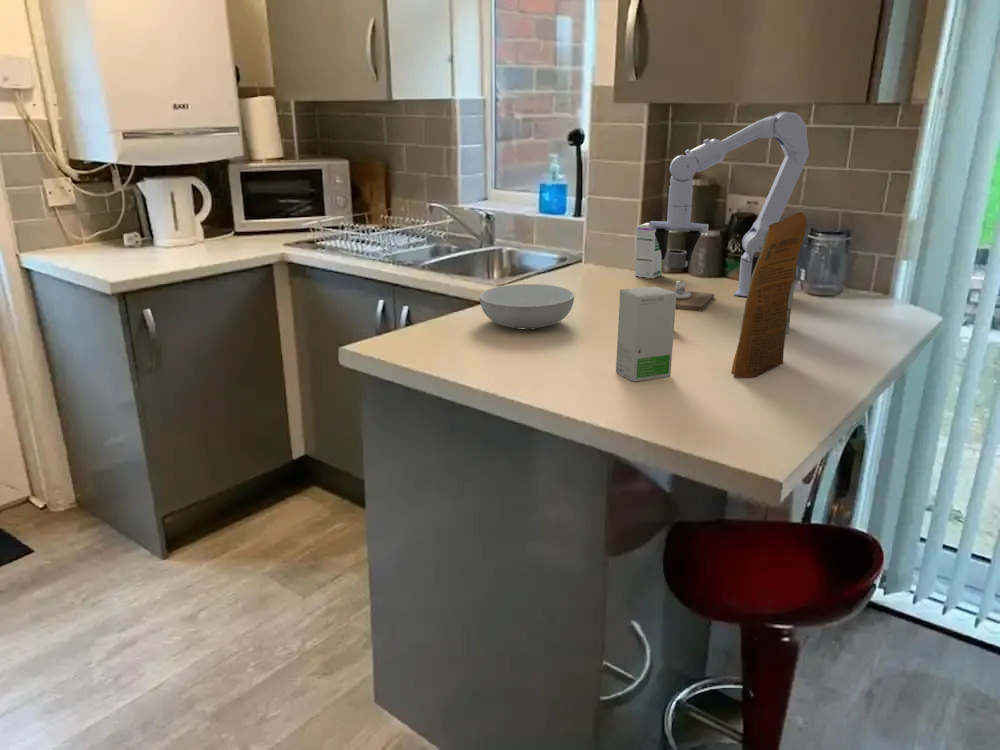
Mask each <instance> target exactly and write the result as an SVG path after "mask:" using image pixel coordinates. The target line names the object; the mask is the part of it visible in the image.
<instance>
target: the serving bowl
mask: <svg viewBox="0 0 1000 750" xmlns="http://www.w3.org/2000/svg"><path fill="white" fill-rule="evenodd" d="M478 298H479V304H480V307H481V309H482V312H483V313H484V315H485V316H487V318H488V319H489V320H490V321H492V322H494V323H496V324H498V325H501V326H502V327H503V326H504V327H508V328H509V327H510V328H512V327H513V328H512V329H516V328H525V329H524V330H533V329H532V328H537V329H541V328H544V327H548V326H552V325H554V324H557V323H559V322H561V321H562V320H564V319H565V318H566V317H567V316H568V314H570V312H571V310H572V308H573V305H574V301H575V294H574V292H573V291H571V290H570V289H567V288H566V287H562V286H556V285H550V284H539V283H529V284H528V283H521V284H520V283H519V284H508V285H501V286H495V287H492V288H488V289H486V290H485V291H482V292H481V293H480V294H479V297H478ZM540 327H541V328H540Z"/></svg>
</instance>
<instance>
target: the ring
mask: <svg viewBox="0 0 1000 750" xmlns="http://www.w3.org/2000/svg"><path fill="white" fill-rule="evenodd" d="M686 254H687V250H684V249H683V250H682V249H676V248H675V249H667V250H666V251H665V254H664V259H663V266H665V267H668V268H674V269H675V268H677V269H678V268H679V269H681V268H687V267H688V264H689V261H686Z"/></svg>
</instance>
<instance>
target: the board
mask: <svg viewBox="0 0 1000 750" xmlns="http://www.w3.org/2000/svg"><path fill="white" fill-rule="evenodd" d="M665 289H666V290H669V291H676V289H667V288H665ZM685 291H686V290H685ZM686 292H689V293H691V298H690V299H687V300H676V308H675V309H678V310H682V309H683V310H688V309H692V310H691V311H698V310H701V311H700V312H702V311H703V310H704V309H705V308H706V307H707V306H709V304H710V303H709V302H710V301H711V300H712V301H713V299H714V298H715V293H707V292H697V291H686ZM712 301H711V302H712Z"/></svg>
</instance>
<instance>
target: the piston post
mask: <svg viewBox="0 0 1000 750" xmlns="http://www.w3.org/2000/svg"><path fill="white" fill-rule="evenodd" d="M675 290H676V291H673V292H676V293H677V294H676V300H687V299H690V298H691V293H689V292H690V291H689V292H686V281H685V280H681V279H680V280H676V281H675Z"/></svg>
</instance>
